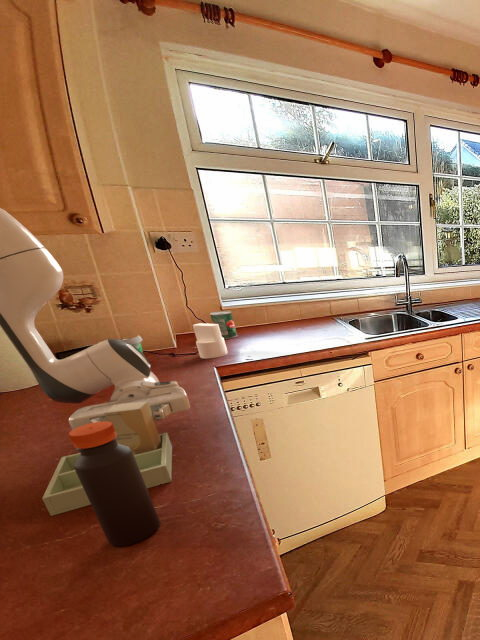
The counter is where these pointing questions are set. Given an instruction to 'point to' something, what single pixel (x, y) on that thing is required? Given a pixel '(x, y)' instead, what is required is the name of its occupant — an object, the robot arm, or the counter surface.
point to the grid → (71, 494)
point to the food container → (134, 342)
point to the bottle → (113, 484)
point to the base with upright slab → (209, 341)
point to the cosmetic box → (135, 426)
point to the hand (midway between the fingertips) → (131, 422)
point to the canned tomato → (224, 323)
